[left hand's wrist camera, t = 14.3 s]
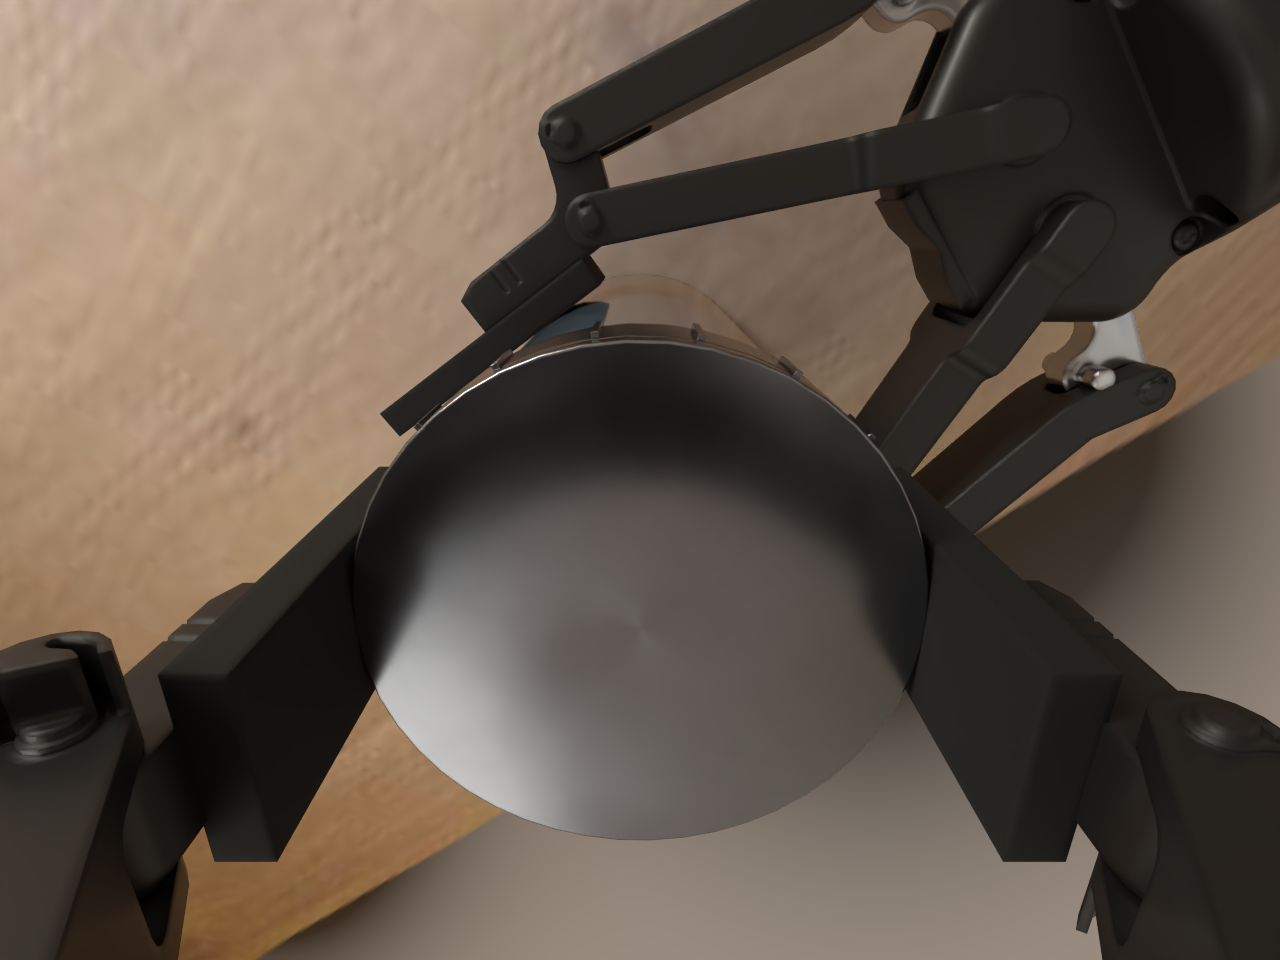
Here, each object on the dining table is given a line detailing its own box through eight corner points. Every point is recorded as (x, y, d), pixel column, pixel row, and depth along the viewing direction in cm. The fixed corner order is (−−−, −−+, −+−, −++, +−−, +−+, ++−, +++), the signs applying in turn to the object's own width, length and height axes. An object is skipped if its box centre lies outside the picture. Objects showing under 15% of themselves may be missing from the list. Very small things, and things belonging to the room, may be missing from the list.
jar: (654, 533, 27) (671, 868, 13) (483, 406, 25) (286, 638, 11) (798, 374, 25) (1007, 573, 11) (621, 222, 23) (594, 221, 9)
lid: (932, 711, 13) (971, 776, 11) (498, 817, 14) (481, 890, 12) (840, 241, 10) (876, 245, 8) (292, 418, 11) (235, 450, 9)
